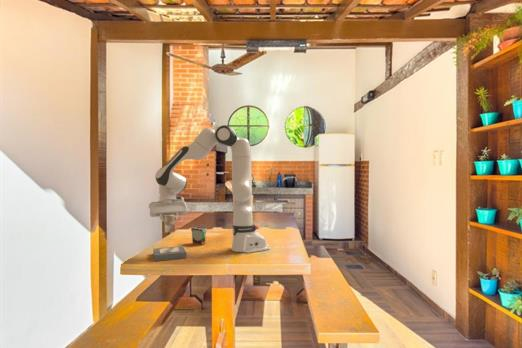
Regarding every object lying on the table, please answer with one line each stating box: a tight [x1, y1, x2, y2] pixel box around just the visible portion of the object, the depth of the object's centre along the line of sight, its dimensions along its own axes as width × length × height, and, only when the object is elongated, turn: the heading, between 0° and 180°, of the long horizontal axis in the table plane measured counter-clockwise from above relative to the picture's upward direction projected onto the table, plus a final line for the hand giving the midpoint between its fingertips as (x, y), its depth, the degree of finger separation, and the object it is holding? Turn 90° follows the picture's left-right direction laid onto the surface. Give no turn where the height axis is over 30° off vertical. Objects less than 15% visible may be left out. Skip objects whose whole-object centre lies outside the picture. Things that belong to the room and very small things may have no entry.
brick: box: [163, 214, 176, 234], centre depth 186 cm, size 5×5×9 cm
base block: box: [152, 245, 187, 262], centre depth 184 cm, size 16×16×3 cm
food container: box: [190, 226, 208, 246], centre depth 214 cm, size 12×6×10 cm, turn 47°
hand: (169, 220), depth 186 cm, fingers closed on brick, 5 cm apart
